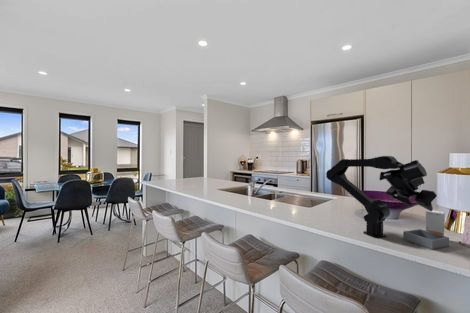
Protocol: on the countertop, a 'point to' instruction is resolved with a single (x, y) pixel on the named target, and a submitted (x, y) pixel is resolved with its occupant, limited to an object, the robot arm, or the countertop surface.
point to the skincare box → (435, 222)
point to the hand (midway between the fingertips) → (420, 207)
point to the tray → (426, 239)
